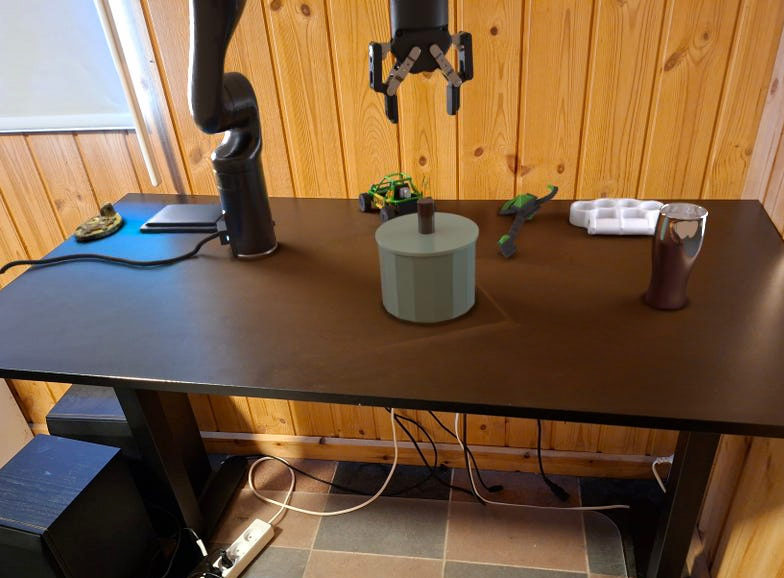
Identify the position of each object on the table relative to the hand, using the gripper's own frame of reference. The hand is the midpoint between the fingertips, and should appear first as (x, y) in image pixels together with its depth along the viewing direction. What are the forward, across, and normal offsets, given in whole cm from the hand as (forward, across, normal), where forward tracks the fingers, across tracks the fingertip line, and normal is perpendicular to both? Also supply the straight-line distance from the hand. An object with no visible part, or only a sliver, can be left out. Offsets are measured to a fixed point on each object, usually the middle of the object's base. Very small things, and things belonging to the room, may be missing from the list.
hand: (423, 118), depth 89 cm
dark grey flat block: (+30, +38, -58) cm, 76 cm away
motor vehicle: (+30, -6, -40) cm, 50 cm away
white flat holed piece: (+30, -45, -16) cm, 56 cm away
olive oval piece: (+30, +59, -61) cm, 90 cm away
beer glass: (+30, -35, +14) cm, 48 cm away
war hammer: (+30, -26, -22) cm, 45 cm away
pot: (+30, 0, 0) cm, 30 cm away
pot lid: (+18, 0, 0) cm, 18 cm away
